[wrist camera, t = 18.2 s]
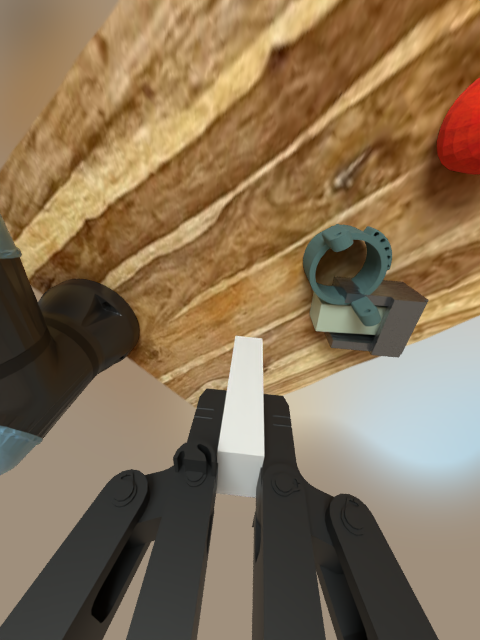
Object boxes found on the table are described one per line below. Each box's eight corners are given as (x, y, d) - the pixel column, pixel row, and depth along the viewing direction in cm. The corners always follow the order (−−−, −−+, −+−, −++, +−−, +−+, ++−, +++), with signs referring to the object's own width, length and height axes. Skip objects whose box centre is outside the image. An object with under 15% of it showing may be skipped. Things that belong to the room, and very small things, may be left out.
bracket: (348, 297, 33) (375, 331, 26) (289, 275, 32) (298, 304, 25) (389, 234, 29) (437, 254, 21) (321, 206, 28) (345, 216, 20)
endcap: (321, 325, 37) (332, 351, 31) (334, 276, 33) (349, 296, 27) (382, 330, 36) (404, 357, 30) (402, 281, 32) (433, 303, 26)
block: (309, 313, 36) (315, 331, 32) (314, 288, 34) (321, 304, 30) (376, 317, 35) (392, 335, 31) (385, 292, 33) (404, 308, 29)
